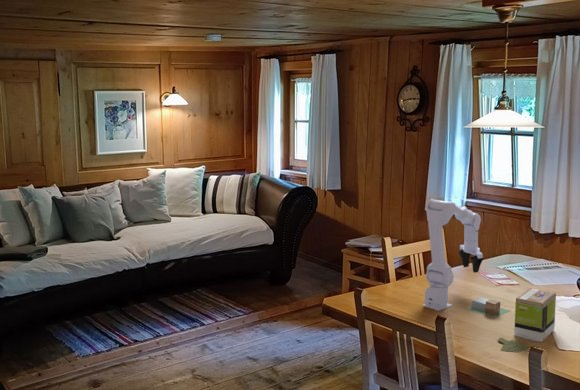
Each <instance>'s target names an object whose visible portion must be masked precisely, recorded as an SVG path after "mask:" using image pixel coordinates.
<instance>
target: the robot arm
mask: <svg viewBox="0 0 580 390" xmlns="http://www.w3.org/2000/svg"><path fill="white" fill-rule="evenodd" d="M425 211H426V220H427V222H428V235H429V245H430V253H431V262H430V263H428V265H427V267H426V272H425V273H426V275H425V276H426V281H427V282H428V285H429V287H427V288H426V289H425V291H424V304H422V307H425V308H429V309H432V310H435V311H441V310H445V309H447V308H450V307H452V306H453V305H452V304H451V303H448V302H449V287H450V286H451V285H452V284H453V281H454V273H453V271H452V267H451V266H450V265H449V264H448V262H447V261H446V255H445V253H446V252H445V251H446V250H445V242H444V233H443V232H444V230H443V226H445V225H448V223H449V222H450V221H451V219H452V217H453V216H454V217H455V219H456V220H458V221H460V222H461V224H462V225H463V228H464V229H463V233H464V234H463V238H464V239H463V240H464V241H463V244H460V245H459V251H458V254H459V257H460V259H461V262H462V266H463V268H467V267H469V266H470V261H471V264H472V272H473V273H474V274H475V273H479V271H480V267H481V264H482V262H483V261H484V259H485V256H484V255H483V252H481V248H480V247H479V230H480V225H481V222H482V218H481V215H480V214H479V213H477V212H473V210H472V209H468V207H467V206H463V205H462V206H460V207H459V206H458V205H456V203H455V202H453V201H445V200H439V199H434V198H432V199H430V200H429V201H428V203H427V205H426V207H425ZM471 255H472V256H471Z"/></svg>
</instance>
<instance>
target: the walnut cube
mask: <svg viewBox="0 0 580 390" xmlns="http://www.w3.org/2000/svg"><path fill="white" fill-rule="evenodd" d="M500 308H501V301H500V300H496V299H492V298H491V299H488V301H486V307H485V314H489V315H492V316H496V315H498V314H500Z"/></svg>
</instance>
